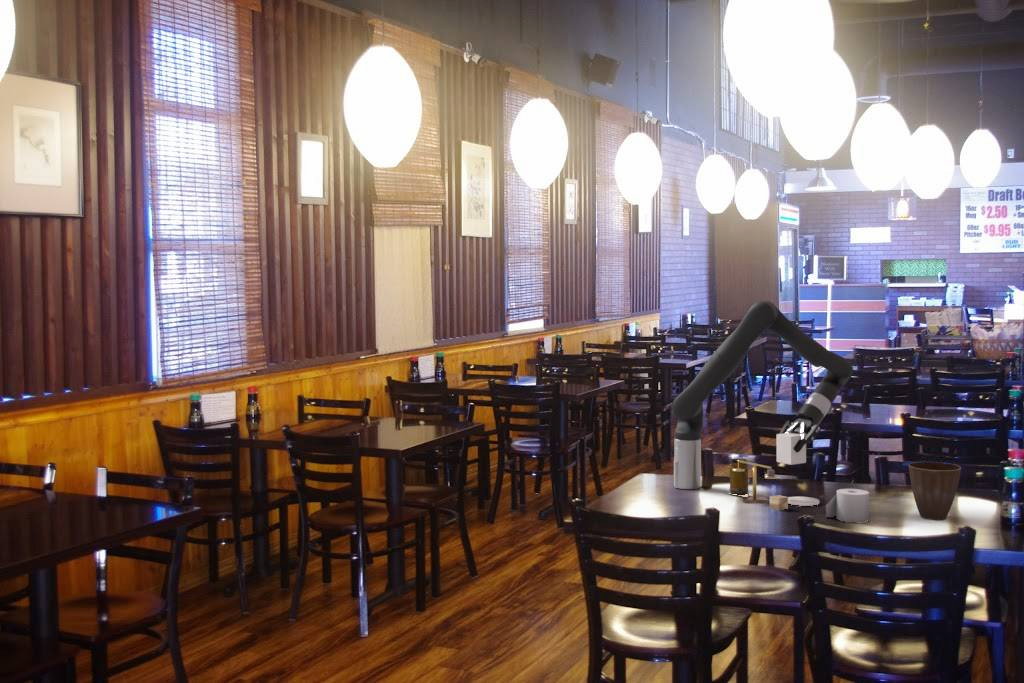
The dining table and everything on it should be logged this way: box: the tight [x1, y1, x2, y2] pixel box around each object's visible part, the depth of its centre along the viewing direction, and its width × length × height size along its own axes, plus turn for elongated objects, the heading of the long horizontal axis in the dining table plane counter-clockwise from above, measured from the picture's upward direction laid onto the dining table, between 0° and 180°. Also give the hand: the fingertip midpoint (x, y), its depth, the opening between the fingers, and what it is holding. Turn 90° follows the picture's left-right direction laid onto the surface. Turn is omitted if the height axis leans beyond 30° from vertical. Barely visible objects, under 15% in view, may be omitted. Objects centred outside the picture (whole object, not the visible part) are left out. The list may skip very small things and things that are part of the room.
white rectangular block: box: [775, 432, 807, 466], centre depth 334 cm, size 6×6×9 cm
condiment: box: [729, 458, 749, 495], centre depth 354 cm, size 7×8×12 cm
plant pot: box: [908, 461, 962, 521], centre depth 317 cm, size 15×15×16 cm
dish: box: [787, 495, 820, 507], centre depth 339 cm, size 11×11×1 cm
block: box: [769, 494, 789, 511], centre depth 331 cm, size 4×4×4 cm
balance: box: [732, 460, 778, 504], centre depth 342 cm, size 15×5×14 cm, turn 85°
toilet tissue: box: [825, 488, 870, 523], centre depth 315 cm, size 9×13×9 cm
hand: (787, 449), depth 333 cm, fingers closed on white rectangular block, 6 cm apart
